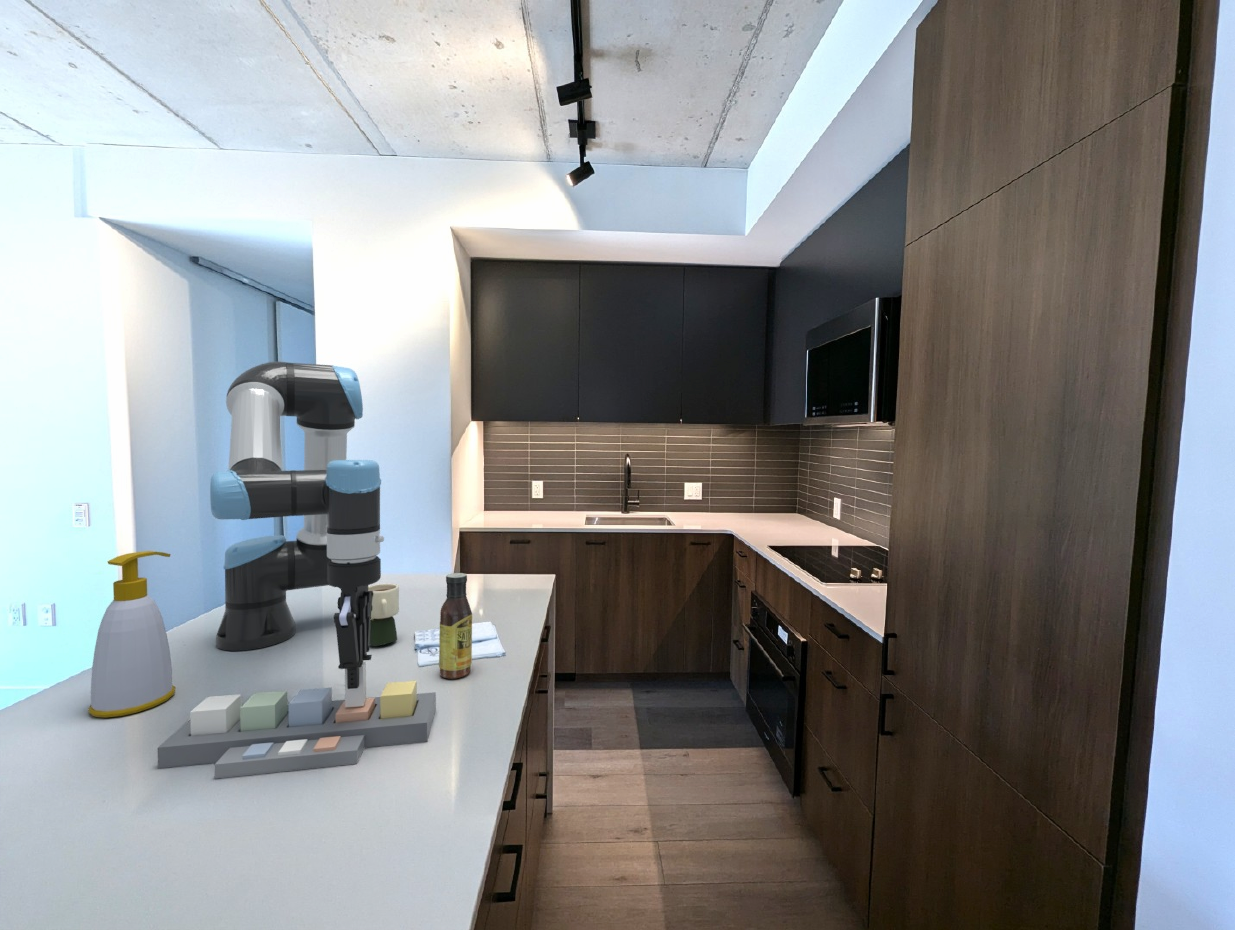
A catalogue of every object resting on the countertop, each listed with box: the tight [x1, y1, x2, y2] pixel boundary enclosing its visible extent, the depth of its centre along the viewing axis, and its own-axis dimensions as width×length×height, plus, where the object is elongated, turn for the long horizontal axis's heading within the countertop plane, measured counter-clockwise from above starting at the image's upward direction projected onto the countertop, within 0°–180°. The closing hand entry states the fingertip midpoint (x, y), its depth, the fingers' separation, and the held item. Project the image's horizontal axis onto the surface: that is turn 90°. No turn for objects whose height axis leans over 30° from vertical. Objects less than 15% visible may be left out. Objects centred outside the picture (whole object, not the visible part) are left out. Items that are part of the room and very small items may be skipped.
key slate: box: [288, 686, 333, 727], centre depth 82 cm, size 5×5×4 cm
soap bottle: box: [88, 550, 176, 719], centre depth 91 cm, size 11×12×26 cm
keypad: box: [156, 691, 437, 780], centre depth 80 cm, size 14×36×3 cm, turn 102°
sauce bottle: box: [438, 572, 473, 680], centre depth 104 cm, size 7×6×20 cm
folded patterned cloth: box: [413, 621, 507, 668], centre depth 119 cm, size 19×20×2 cm
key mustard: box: [380, 680, 418, 719], centre depth 84 cm, size 5×5×4 cm
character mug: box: [368, 583, 400, 647], centre depth 119 cm, size 11×7×13 cm, turn 30°
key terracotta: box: [335, 697, 375, 723], centre depth 83 cm, size 5×5×4 cm
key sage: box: [240, 690, 289, 732], centre depth 80 cm, size 5×5×4 cm
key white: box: [189, 693, 243, 736], centre depth 79 cm, size 5×5×4 cm
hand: (355, 704), depth 83 cm, fingers closed
